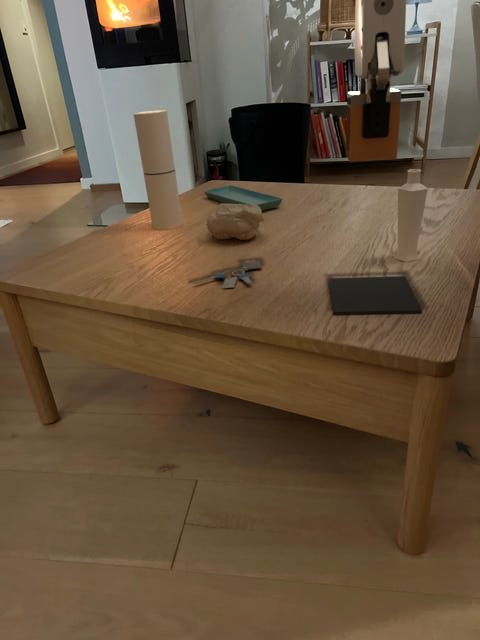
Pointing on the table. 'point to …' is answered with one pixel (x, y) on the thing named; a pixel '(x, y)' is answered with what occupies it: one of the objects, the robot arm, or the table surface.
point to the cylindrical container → (158, 168)
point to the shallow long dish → (243, 197)
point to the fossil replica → (235, 221)
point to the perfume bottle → (410, 215)
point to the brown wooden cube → (373, 146)
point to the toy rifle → (231, 281)
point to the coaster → (372, 296)
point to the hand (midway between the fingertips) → (371, 132)
